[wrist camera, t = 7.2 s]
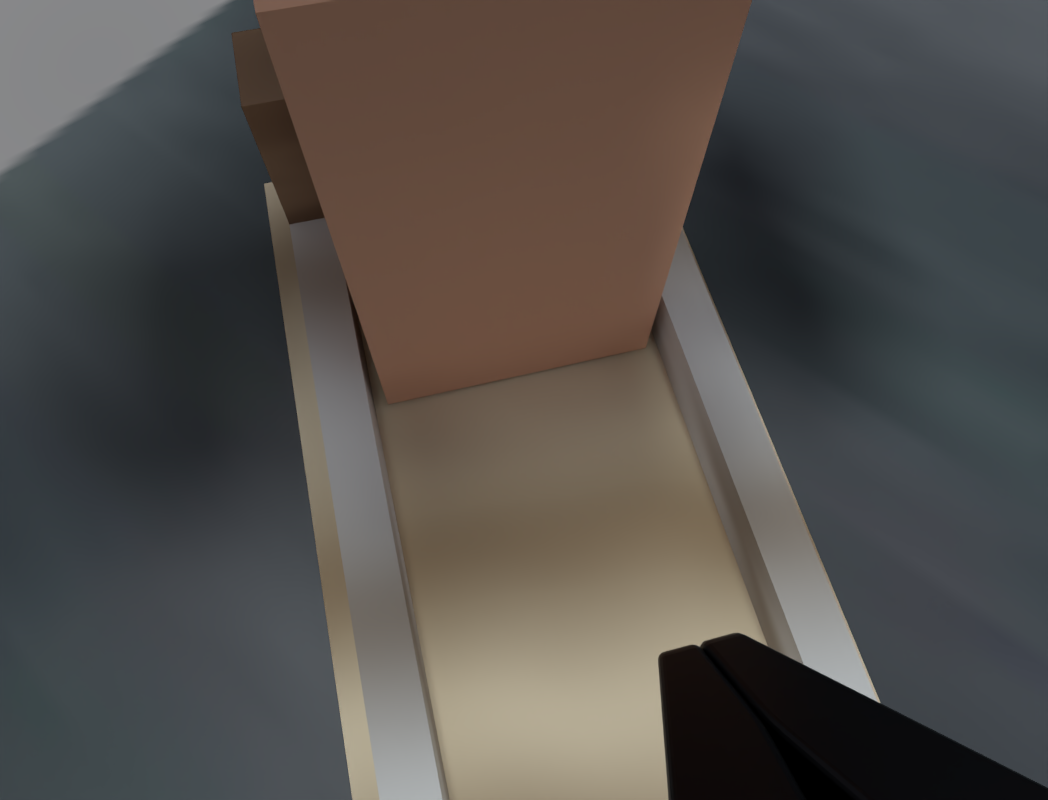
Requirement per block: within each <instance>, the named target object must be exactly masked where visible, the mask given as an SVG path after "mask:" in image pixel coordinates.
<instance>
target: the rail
mask: <svg viewBox="0 0 1048 800" xmlns="http://www.w3.org/2000/svg"><path fill="white" fill-rule="evenodd" d="M232 41H233V48H234V55H235V63H236V70H237V78H238V85H239V92H240V100H241V107H242V109H243V112H244V114H245V117H246V119H247V121H248V124H249V126H250V129H251V131H252V134H253V136H254V139H255V141H256V144H257V146H258V149H259V151H260V153H261V156H262V158H263V161H264V163H265V166H266V168H267V171H268V173H269V176H270V178H271V180H272V182H270V183H265V184H264V187H265V194H266V201H267V208H268V215H269V222H270V229H271V236H272V243H273V250H274V257H275V264H276V271H277V278H278V284H279V291H280V298H281V305H282V312H283V319H284V326H285V333H286V340H287V347H288V354H289V361H290V368H291V375H292V382H293V389H294V396H295V403H296V410H297V417H298V424H299V431H300V438H301V445H302V451H303V458H304V465H305V472H306V479H307V486H308V493H309V500H310V507H311V514H312V521H313V528H314V535H315V542H316V549H317V556H318V563H319V570H320V577H321V584H322V591H323V598H324V605H325V612H326V618H327V625H328V632H329V639H330V646H331V653H332V660H333V667H334V674H335V681H336V688H337V695H338V702H339V709H340V716H341V723H342V730H343V737H344V744H345V751H346V758H347V765H348V772H349V779H350V785H351V792H352V799H353V800H668V789H667V775H666V762H665V749H664V735H663V722H662V709H661V695H660V682H659V669H658V657H659V655H660V654H661V653H662V652H665V651H669V650H672V649H676V648H680V647H683V646H687V645H692V644H693V645H697V646H699V647H700V645H701V644H702V643H703V642H704V641H706V640H709V639H713V638H717V637H720V636H724V635H728V634H731V633H741V634H744V635H746V636H748V637H750V638H752V639H754V640H756V641H758V642H760V643H762V644H764V645H766V646H768V647H770V648H772V649H774V650H776V651H778V652H780V653H782V654H784V655H786V656H788V657H790V658H792V659H794V660H796V661H798V662H800V663H802V664H804V665H806V666H808V667H810V668H812V669H814V670H816V671H818V672H819V673H821V674H823V675H825V676H827V677H829V678H831V679H833V680H835V681H837V682H839V683H841V684H843V685H845V686H847V687H849V688H851V689H853V690H855V691H857V692H859V693H861V694H863V695H865V696H867V697H869V698H871V699H873V700H875V701H877V702H879V703H880V701H879V698H878V696H877V693H876V691H875V689H874V686H873V684H872V681H871V679H870V677H869V674H868V672H867V669H866V667H865V665H864V662H863V660H862V657H861V655H860V653H859V650H858V648H857V645H856V643H855V641H854V638H853V636H852V633H851V631H850V629H849V626H848V624H847V621H846V619H845V617H844V614H843V612H842V609H841V607H840V604H839V602H838V600H837V597H836V595H835V592H834V590H833V588H832V585H831V583H830V580H829V578H828V576H827V573H826V571H825V568H824V566H823V564H822V561H821V559H820V556H819V554H818V552H817V549H816V547H815V544H814V542H813V540H812V537H811V535H810V532H809V530H808V528H807V525H806V523H805V520H804V518H803V515H802V513H801V511H800V508H799V506H798V503H797V501H796V499H795V496H794V494H793V491H792V489H791V487H790V484H789V482H788V479H787V477H786V475H785V472H784V470H783V467H782V465H781V463H780V460H779V458H778V455H777V453H776V451H775V448H774V446H773V443H772V441H771V439H770V436H769V434H768V431H767V429H766V426H765V424H764V422H763V419H762V417H761V414H760V412H759V410H758V407H757V405H756V402H755V400H754V398H753V395H752V393H751V390H750V388H749V386H748V383H747V381H746V378H745V376H744V374H743V371H742V369H741V366H740V364H739V362H738V359H737V357H736V354H735V352H734V349H733V347H732V345H731V342H730V340H729V337H728V335H727V333H726V330H725V328H724V325H723V323H722V321H721V318H720V316H719V313H718V311H717V309H716V306H715V304H714V301H713V299H712V297H711V294H710V292H709V289H708V287H707V285H706V282H705V280H704V277H703V275H702V273H701V270H700V268H699V265H698V263H697V260H696V258H695V256H694V253H693V251H692V248H691V246H690V244H689V241H688V239H687V236H686V234H685V232H684V229H683V228H682V231H681V234H680V237H679V241H678V244H677V247H676V250H675V254H674V257H673V260H672V263H671V267H670V270H669V273H668V277H667V280H666V283H665V286H664V290H663V293H662V296H661V299H660V303H659V306H658V309H657V313H656V316H655V319H654V322H653V326H652V329H651V332H650V335H649V339H648V342H647V345H646V348H643V349H638V350H634V351H629V352H625V353H620V354H616V355H611V356H607V357H602V358H597V359H593V360H588V361H584V362H579V363H575V364H570V365H566V366H561V367H556V368H552V369H547V370H543V371H538V372H534V373H529V374H525V375H520V376H516V377H511V378H506V379H502V380H497V381H493V382H488V383H484V384H479V385H475V386H470V387H466V388H461V389H456V390H452V391H447V392H443V393H438V394H434V395H429V396H425V397H420V398H415V399H411V400H406V401H402V402H397V403H393V404H388V403H387V400H386V397H385V394H384V391H383V388H382V385H381V382H380V379H379V376H378V373H377V370H376V367H375V364H374V361H373V358H372V355H371V353H370V350H369V347H368V344H367V341H366V338H365V335H364V332H363V329H362V326H361V323H360V320H359V317H358V314H357V311H356V308H355V305H354V302H353V299H352V296H351V294H350V291H349V288H348V285H347V282H346V279H345V276H344V273H343V270H342V267H341V264H340V261H339V258H338V255H337V252H336V249H335V246H334V243H333V240H332V237H331V234H330V232H329V229H328V226H327V223H326V220H325V217H324V214H323V211H322V208H321V205H320V202H319V199H318V196H317V193H316V190H315V187H314V184H313V181H312V178H311V175H310V173H309V170H308V167H307V164H306V161H305V158H304V155H303V152H302V149H301V146H300V143H299V140H298V137H297V134H296V131H295V128H294V125H293V122H292V119H291V116H290V114H289V111H288V108H287V105H286V102H285V99H284V96H283V93H282V90H281V87H280V84H279V81H278V78H277V75H276V72H275V69H274V66H273V63H272V60H271V57H270V55H269V52H268V49H267V46H266V43H265V40H264V37H263V34H262V31H261V28H259V29H253V30H247V31H240V32H234V33H232Z"/></svg>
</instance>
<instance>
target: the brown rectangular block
mask: <svg viewBox="0 0 1048 800" xmlns="http://www.w3.org/2000/svg"><path fill="white" fill-rule="evenodd" d="M751 2H752V0H254V7H255V13H256V16H257V19H258V22H259V25H260V28H261V31H262V34H263V37H264V40H265V43H266V46H267V49H268V52H269V55H270V57H271V60H272V63H273V66H274V69H275V72H276V75H277V78H278V81H279V84H280V87H281V90H282V93H283V96H284V99H285V102H286V105H287V108H288V111H289V114H290V116H291V119H292V122H293V125H294V128H295V131H296V134H297V137H298V140H299V143H300V146H301V149H302V152H303V155H304V158H305V161H306V164H307V167H308V170H309V173H310V175H311V178H312V181H313V184H314V187H315V190H316V193H317V196H318V199H319V202H320V205H321V208H322V211H323V214H324V217H325V220H326V223H327V226H328V229H329V232H330V234H331V237H332V240H333V243H334V246H335V249H336V252H337V255H338V258H339V261H340V264H341V267H342V270H343V273H344V276H345V279H346V282H347V285H348V288H349V291H350V294H351V296H352V299H353V302H354V305H355V308H356V311H357V314H358V317H359V320H360V323H361V326H362V329H363V332H364V335H365V338H366V341H367V344H368V347H369V350H370V353H371V355H372V358H373V361H374V364H375V367H376V370H377V373H378V376H379V379H380V382H381V385H382V388H383V391H384V394H385V397H386V400H387V403H388V404H393V403H397V402H402V401H406V400H411V399H415V398H420V397H425V396H429V395H434V394H438V393H443V392H447V391H452V390H456V389H461V388H466V387H470V386H475V385H479V384H484V383H488V382H493V381H497V380H502V379H506V378H511V377H516V376H520V375H525V374H529V373H534V372H538V371H543V370H547V369H552V368H556V367H561V366H566V365H570V364H575V363H579V362H584V361H588V360H593V359H597V358H602V357H607V356H611V355H616V354H620V353H625V352H629V351H634V350H638V349H643V348H646V345H647V342H648V339H649V335H650V332H651V329H652V326H653V322H654V319H655V316H656V313H657V309H658V306H659V303H660V299H661V296H662V293H663V290H664V286H665V283H666V280H667V277H668V273H669V270H670V267H671V263H672V260H673V257H674V254H675V250H676V247H677V244H678V241H679V237H680V234H681V231H682V228H683V224H684V221H685V218H686V214H687V211H688V208H689V205H690V201H691V198H692V195H693V192H694V188H695V185H696V182H697V178H698V175H699V172H700V169H701V165H702V162H703V159H704V156H705V152H706V149H707V146H708V142H709V139H710V136H711V133H712V129H713V126H714V123H715V120H716V116H717V113H718V110H719V107H720V103H721V100H722V97H723V93H724V90H725V87H726V84H727V80H728V77H729V74H730V71H731V67H732V64H733V61H734V57H735V54H736V51H737V48H738V44H739V41H740V38H741V35H742V31H743V28H744V25H745V21H746V18H747V15H748V12H749V8H750V5H751Z"/></svg>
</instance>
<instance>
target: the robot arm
mask: <svg viewBox="0 0 1048 800" xmlns="http://www.w3.org/2000/svg"><path fill="white" fill-rule="evenodd" d="M658 669H659V682H660V695H661V709H662V722H663V735H664V749H665V762H666V775H667V789H668V800H1048V788H1047V787H1045V786H1043V785H1041V784H1039V783H1037V782H1035V781H1033V780H1031V779H1029V778H1027V777H1025V776H1023V775H1021V774H1019V773H1017V772H1015V771H1013V770H1011V769H1009V768H1007V767H1005V766H1003V765H1001V764H999V763H997V762H995V761H993V760H991V759H989V758H987V757H985V756H984V755H982V754H980V753H978V752H976V751H974V750H972V749H970V748H968V747H966V746H964V745H962V744H960V743H958V742H956V741H954V740H952V739H950V738H948V737H946V736H944V735H942V734H940V733H938V732H936V731H934V730H932V729H930V728H928V727H926V726H924V725H922V724H920V723H918V722H916V721H914V720H912V719H910V718H908V717H906V716H904V715H902V714H901V713H899V712H897V711H895V710H893V709H891V708H889V707H887V706H885V705H883V704H881V703H879V702H877V701H875V700H873V699H871V698H869V697H867V696H865V695H863V694H861V693H859V692H857V691H855V690H853V689H851V688H849V687H847V686H845V685H843V684H841V683H839V682H837V681H835V680H833V679H831V678H829V677H827V676H825V675H823V674H821V673H819V672H818V671H816V670H814V669H812V668H810V667H808V666H806V665H804V664H802V663H800V662H798V661H796V660H794V659H792V658H790V657H788V656H786V655H784V654H782V653H780V652H778V651H776V650H774V649H772V648H770V647H768V646H766V645H764V644H762V643H760V642H758V641H756V640H754V639H752V638H750V637H748V636H746V635H744V634H741V633H731V634H728V635H724V636H720V637H717V638H713V639H709V640H706V641H704V642H703V643H702V644H701V645H700V647H699V646H697V645H693V644H692V645H687V646H683V647H680V648H676V649H672V650H669V651H665V652H662V653H661V654H660V655H659V657H658Z"/></svg>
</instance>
